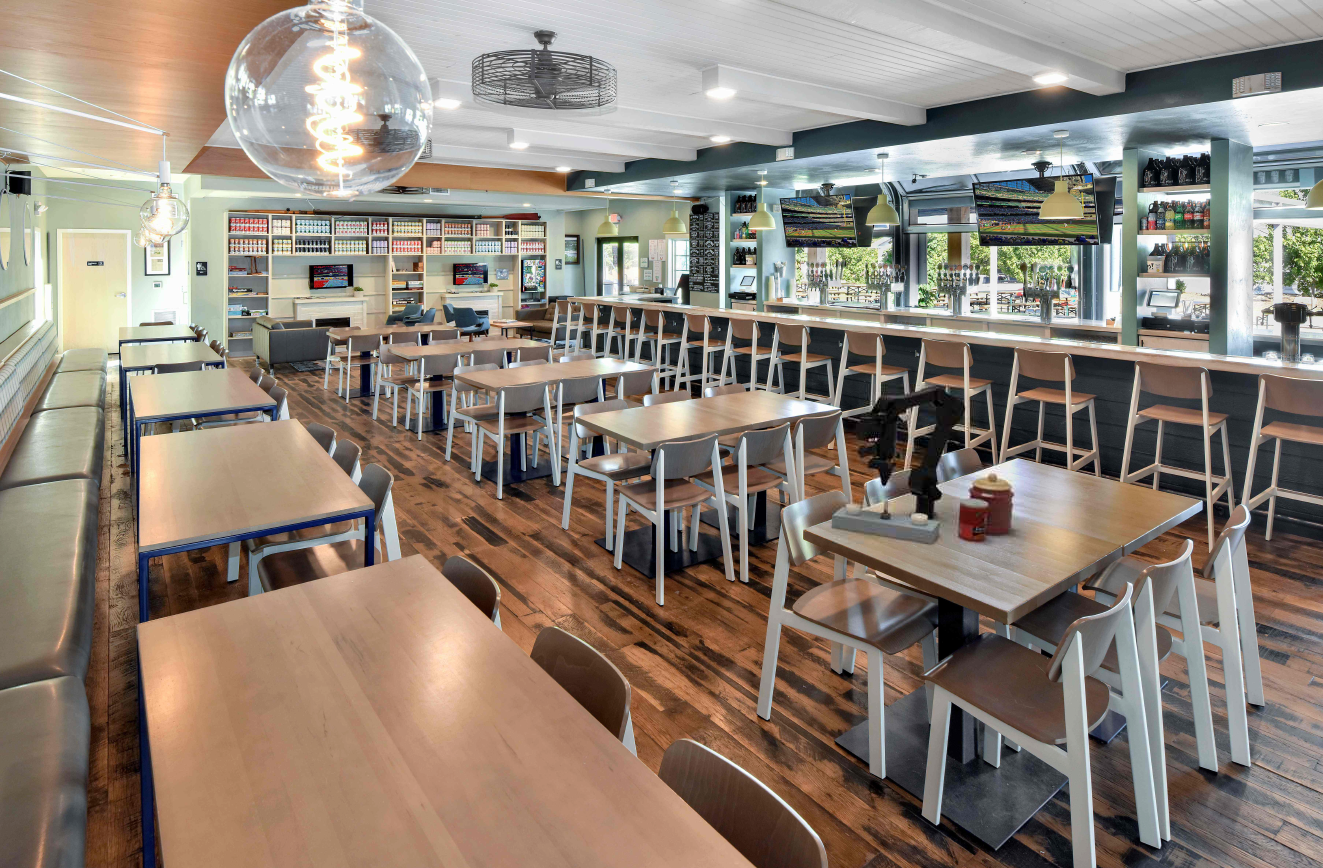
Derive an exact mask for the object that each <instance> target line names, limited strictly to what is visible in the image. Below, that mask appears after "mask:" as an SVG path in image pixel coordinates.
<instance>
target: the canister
mask: <svg viewBox="0 0 1323 868" xmlns="http://www.w3.org/2000/svg"><path fill="white" fill-rule="evenodd" d="M971 482H972V483H971V484H972V487H969V488H968V492H969V498H968V499H979V500H983V501H985V502H987V503H988V518H987V529H986V535H990V536H991V535H992V536H1002V535H1007V534H1009V533H1010V532H1011V529H1012V524H1013V523H1012V517H1013V507H1014V503H1013V498H1014V497H1015V493H1014V492H1013V491H1012V490H1011V489H1013V486H1012V485H1011V484H1010V483H1009V482H1008V481H1007V480H1005V479H1002V478H998V475H997V474H995V473H993V472H991V473H989V474H988V476H987V477H979V478H977V479H975V480H973V481H971Z"/></svg>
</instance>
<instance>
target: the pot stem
mask: <svg viewBox="0 0 1323 868" xmlns="http://www.w3.org/2000/svg"><path fill="white" fill-rule="evenodd" d="M883 502H884V503H883V511H882V512H880V513H881V514H880V518H881V519H883V520H890V518H891V513H890V512H889V500H884V501H883Z"/></svg>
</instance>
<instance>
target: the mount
mask: <svg viewBox="0 0 1323 868" xmlns="http://www.w3.org/2000/svg"><path fill="white" fill-rule="evenodd" d="M881 513H882V512H877V511H871V510H864V509H861V514H860V515H857V516H856V515H849V514H846V506H842V507H841V508H839V509H838V510H836V512H834V513H833V514H832V516H831V519H832V520H831V528H833V529H838V528H839V530H844V529H845V530H846V531H850V532H856V533H863V534H869V535H876V536H880V537H881V536H882V537H888V538H893V539H898V540H904V541H905V540H906V541H911V542H917V543H921V544H922V543H923V544H928V545H932V544H933V543H934V541H936V539H937V538H938V536H939V535H940V523H941V521H938V520H933V519H927V525H924V526H918V525H914V524H911V516H905V515H897V514H891V513H890V514H891V518H890V520H883V519H881V518H880V514H881Z"/></svg>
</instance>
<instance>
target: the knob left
mask: <svg viewBox="0 0 1323 868" xmlns="http://www.w3.org/2000/svg"><path fill="white" fill-rule="evenodd" d="M845 507H846V514H849V515H856V516H857V515H860V514H861V510H862V505H861V504H858V503H846V504H845Z"/></svg>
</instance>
